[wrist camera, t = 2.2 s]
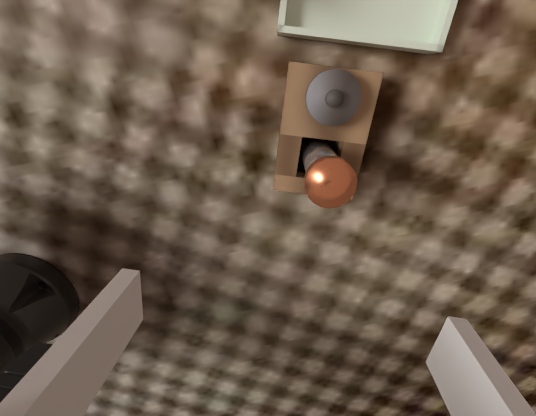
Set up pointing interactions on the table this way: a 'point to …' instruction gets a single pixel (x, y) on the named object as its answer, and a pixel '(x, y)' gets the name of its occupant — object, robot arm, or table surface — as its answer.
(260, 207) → the table surface
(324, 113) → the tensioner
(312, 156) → the pin
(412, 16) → the tray
